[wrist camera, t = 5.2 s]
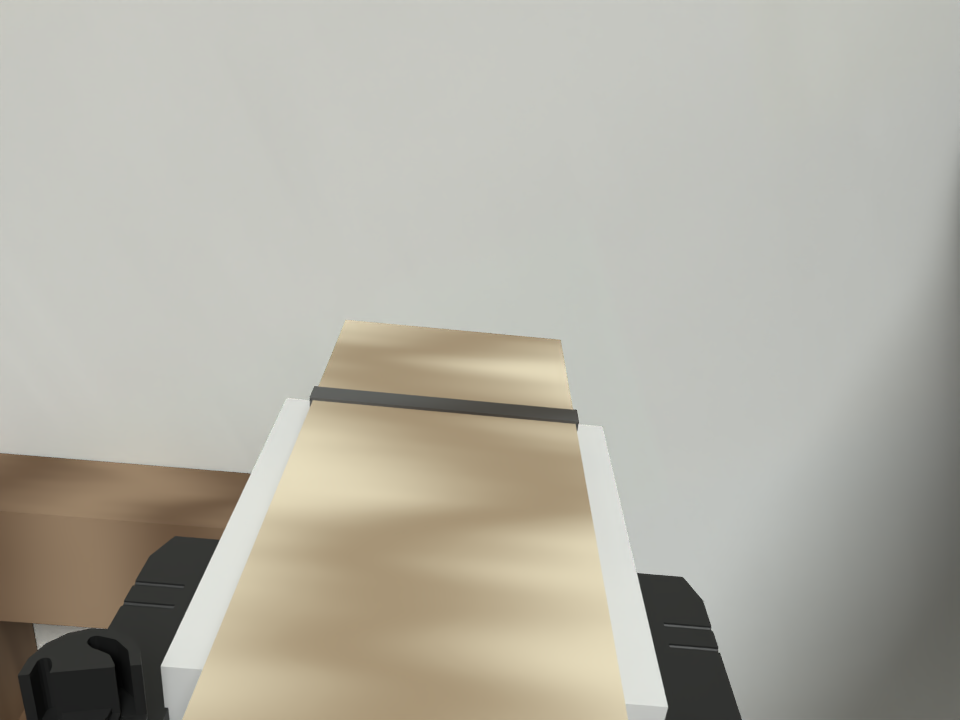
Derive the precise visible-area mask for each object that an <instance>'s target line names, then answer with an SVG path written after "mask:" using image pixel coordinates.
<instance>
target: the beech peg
mask: <svg viewBox="0 0 960 720" xmlns="http://www.w3.org/2000/svg"><path fill="white" fill-rule="evenodd" d="M578 424H579V419H578V414H577V410H573V407H572V401H571V396H570V390H569V384H568V379H567V373H566V367H565V362H564V356H563V351H562V345H561V340H556V339H546V338H535V337H524V336H513V335H503V334H492V333H481V332H470V331H460V330H449V329H438V328H427V327H417V326H406V325H395V324H384V323H374V322H363V321H352V320H345V323H344V325H343V328H342V330H341V333H340V335H339V337H338V340H337V342H336V345H335V347H334V350H333V352H332V355H331V357H330V359H329V362H328V364H327V367H326V369H325V372H324V374H323V377H322V379H321V381H320V384H319V386H314V389H313V391H312V393H311V396H310V408H309V411H308V413H307V416H306V418H305V421H304V423H303V425H302V428H301V430H300V433H299V435H298V438H297V440H296V443H295V445H294V447H293V450H292V452H291V455H290V457H289V460H288V462H287V464H286V467H285V469H284V472H283V474H282V477H281V479H280V482H279V484H278V486H277V489H276V491H275V494H274V496H273V499H272V501H271V504H270V506H269V508H268V511H267V513H266V516H265V518H264V521H263V523H262V526H261V528H260V530H259V533H258V535H257V538H256V540H255V543H254V545H253V548H252V550H251V552H250V555H249V557H248V560H247V562H246V565H245V567H244V570H243V572H242V574H241V577H240V579H239V582H238V584H237V587H236V589H235V592H234V594H233V596H232V599H231V601H230V604H229V606H228V609H227V611H226V614H225V616H224V618H223V621H222V623H221V626H220V628H219V631H218V633H217V636H216V638H215V640H214V643H213V645H212V648H211V650H210V653H209V655H208V657H207V660H206V662H205V665H204V667H203V670H202V672H201V675H200V677H199V679H198V682H197V684H196V687H195V689H194V692H193V694H192V697H191V699H190V701H189V704H188V706H187V709H186V711H185V714H184V716H183V719H182V720H628V716H627V711H626V705H625V699H624V694H623V688H622V683H621V677H620V671H619V666H618V660H617V654H616V649H615V643H614V638H613V632H612V626H611V621H610V615H609V609H608V604H607V598H606V593H605V587H604V581H603V576H602V570H601V564H600V559H599V553H598V548H597V542H596V536H595V531H594V525H593V519H592V514H591V508H590V503H589V497H588V491H587V486H586V480H585V474H584V469H583V463H582V458H581V452H580V446H579V441H578V435H577V430H578Z"/></svg>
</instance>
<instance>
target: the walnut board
mask: <svg viewBox="0 0 960 720" xmlns="http://www.w3.org/2000/svg"><path fill="white" fill-rule="evenodd" d="M250 475H251V474H248V473H236V472H224V471H211V470H199V469H187V468H175V467H162V466H150V465H138V464H125V463H113V462H101V461H88V460H76V459H64V458H51V457H39V456H27V455H14V454H2V453H0V720H27V719H26V714H25V709H24V705H23V700H22V695H21V690H20V685H19V680H18V674H19V672H20V671H21V669H22V668H23V666H24V664H25V663H26V661H27V660H28V658H29V657H30V656H32V655H33V654H34V653H35V652H37V646H36V641H35V636H34V630H33V625H32V623H37V624H50V625H64V626H77V627H91V628H105V629H108V627H109V626H110V624H111V622H112V620H113V619H114V617H115V615H116V613H117V612H118V610H119V608H120V606H123V604H124V599H125V598H126V596H127V594H128V593H129V591H130V589H131V587H132V586H133V585H135V580H136V579H137V577H138V575H139V573H140V572H141V570H142V568H143V566H144V565H145V563H146V561H147V559H148V558H149V556H150V555H151V554H153V553H154V552H155V551H156V550H158V549H159V548H160V547H162V546H163V545H164V544H165V543H167V542H168V541H169V540H170V539H172V538H173V537H174V536H181V537H193V538H205V539H217V540H220V539H221V537H222V534H223V532H224V530H225V528H226V526H227V524H228V522H229V520H230V517H231V515H232V513H233V511H234V509H235V507H236V505H237V502H238V500H239V498H240V496H241V494H242V492H243V490H244V488H245V485H246V483H247V481H248V479H249V477H250Z"/></svg>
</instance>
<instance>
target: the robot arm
mask: <svg viewBox="0 0 960 720" xmlns="http://www.w3.org/2000/svg"><path fill="white" fill-rule="evenodd" d="M309 408H310V400H304V399H293V398H286V400H285V402H284V405H283V407H282V409H281V411H280V413H279V415H278V417H277V419H276V422H275V424H274V426H273V428H272V430H271V432H270V434H269V436H268V439H267V441H266V443H265V445H264V447H263V449H262V451H261V454H260V456H259V458H258V460H257V462H256V464H255V466H254V468H253V471H252V473H251V475H250V477H249V479H248V481H247V483H246V485H245V488H244V490H243V492H242V494H241V496H240V498H239V500H238V502H237V505H236V507H235V509H234V511H233V513H232V515H231V517H230V520H229V522H228V524H227V526H226V528H225V530H224V532H223V534H222V537H221V539H220V540H217V539H205V538H193V537H181V536H174V537H173V538H172V539H170V540H169V541H168V542H167V543H165V544H164V545H163V546H162V547H160V548H159V549H158V550H156V551H155V552H154V553H153V554H151V555H150V556H149V558H148V559H147V561H146V563H145V565H144V566H143V568H142V570H141V572H140V573H139V575H138V577H137V579H136V580H135V585H133V586H132V587H131V589H130V591H129V593H128V594H127V596H126V598H125V599H124V604H123V606H120V608H119V610H118V612H117V613H116V615H115V617H114V619H113V620H112V622H111V624H110V626H109V627H108V629H94V628H91V629H86V630H82V631H77V632H72V633H68V634H66V635H63V636H61V637H59V638H57V639H55V640H53V641H51V642H48V643H46V644H45V645H44V646H43V647H41V648H40V649H39V650H38V651H37V652H35V653H34V654H33V655H32V656H30V657H29V658H28V660H27V661H26V663H25V664H24V666H23V668H22V669H21V671H20V672H19V674H18V680H19V685H20V690H21V695H22V700H23V705H24V709H25V714H26V719H27V720H182V719H183V716H184V714H185V711H186V709H187V706H188V704H189V701H190V699H191V697H192V694H193V692H194V689H195V687H196V684H197V682H198V679H199V677H200V675H201V672H202V670H203V667H204V665H205V662H206V660H207V657H208V655H209V653H210V650H211V648H212V645H213V643H214V640H215V638H216V636H217V633H218V631H219V628H220V626H221V623H222V621H223V618H224V616H225V614H226V611H227V609H228V606H229V604H230V601H231V599H232V596H233V594H234V592H235V589H236V587H237V584H238V582H239V579H240V577H241V574H242V572H243V570H244V567H245V565H246V562H247V560H248V557H249V555H250V552H251V550H252V548H253V545H254V543H255V540H256V538H257V535H258V533H259V530H260V528H261V526H262V523H263V521H264V518H265V516H266V513H267V511H268V508H269V506H270V504H271V501H272V499H273V496H274V494H275V491H276V489H277V486H278V484H279V482H280V479H281V477H282V474H283V472H284V469H285V467H286V464H287V462H288V460H289V457H290V455H291V452H292V450H293V447H294V445H295V443H296V440H297V438H298V435H299V433H300V430H301V428H302V425H303V423H304V421H305V418H306V416H307V413H308V411H309ZM577 435H578V441H579V446H580V452H581V458H582V463H583V469H584V474H585V480H586V486H587V491H588V497H589V503H590V508H591V514H592V519H593V525H594V531H595V536H596V542H597V548H598V553H599V559H600V564H601V570H602V576H603V581H604V587H605V593H606V598H607V604H608V609H609V615H610V621H611V626H612V632H613V638H614V643H615V649H616V654H617V660H618V666H619V671H620V677H621V683H622V688H623V694H624V699H625V705H626V711H627V716H628V720H742V719H741V716H740V713H739V710H738V707H737V704H736V701H735V698H734V694H733V691H732V688H731V685H730V682H729V679H728V676H727V673H726V670H725V667H724V664H723V661H722V658H721V655H720V653H718V645H717V642H716V639H715V636H714V633H713V631H711V624H710V621H709V618H708V615H707V612H706V609H705V606H704V603H703V600H702V599H701V598H700V597H699V596H698V594H697V593H696V592H695V591H694V590H693V588H692V587H691V586H690V585H689V584H688V583H687V581H686V580H685V579H684V578H683V577H676V576H664V575H652V574H641V573H637V572H636V567H635V563H634V559H633V555H632V550H631V546H630V542H629V537H628V533H627V529H626V525H625V520H624V516H623V512H622V507H621V503H620V499H619V495H618V490H617V486H616V482H615V477H614V473H613V469H612V465H611V460H610V456H609V452H608V447H607V443H606V439H605V435H604V430H603V426H592V425H581V424H578V430H577Z"/></svg>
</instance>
